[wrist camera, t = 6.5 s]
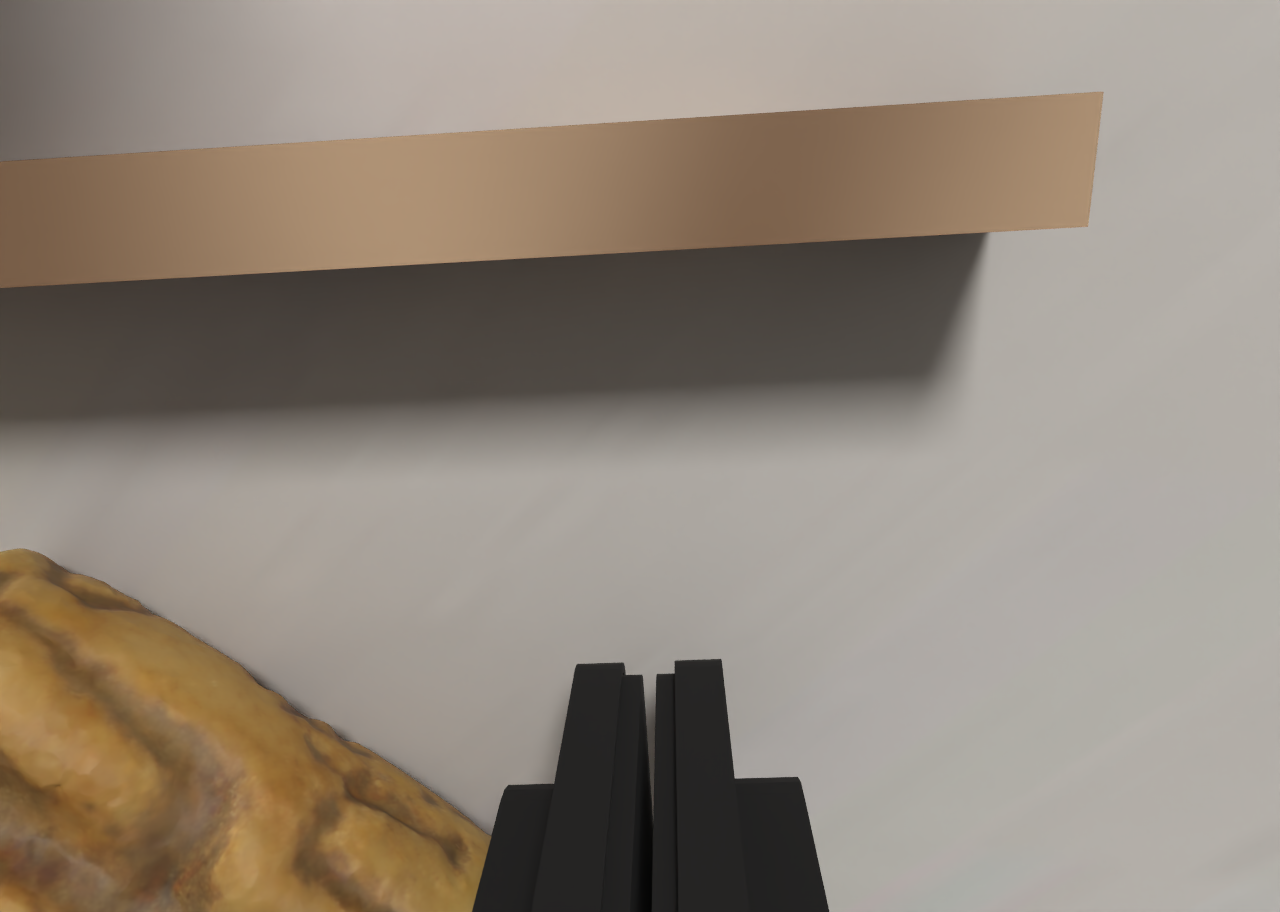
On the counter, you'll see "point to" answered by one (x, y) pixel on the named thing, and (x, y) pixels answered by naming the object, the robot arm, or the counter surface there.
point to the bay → (553, 191)
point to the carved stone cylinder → (191, 776)
